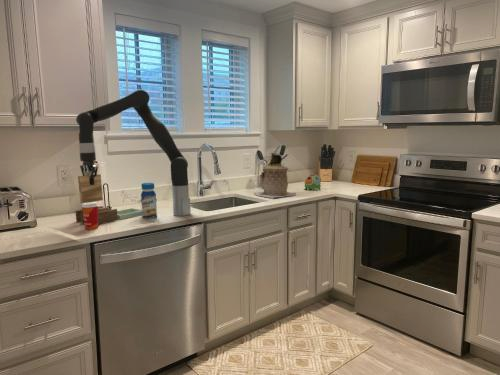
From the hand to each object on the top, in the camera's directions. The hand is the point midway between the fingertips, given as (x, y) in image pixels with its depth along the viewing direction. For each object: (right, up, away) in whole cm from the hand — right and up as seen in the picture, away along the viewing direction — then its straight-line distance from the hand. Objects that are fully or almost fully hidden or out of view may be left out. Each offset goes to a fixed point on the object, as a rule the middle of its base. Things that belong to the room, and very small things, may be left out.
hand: (90, 184), depth 198 cm
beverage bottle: (+29, -19, +10) cm, 36 cm away
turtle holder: (+135, -3, +106) cm, 172 cm away
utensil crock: (+102, -8, +81) cm, 131 cm away
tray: (+15, -19, +13) cm, 27 cm away
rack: (+3, -21, +1) cm, 21 cm away
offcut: (+4, -19, 0) cm, 20 cm away
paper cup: (+7, -23, -14) cm, 28 cm away
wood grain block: (0, -9, +1) cm, 9 cm away
